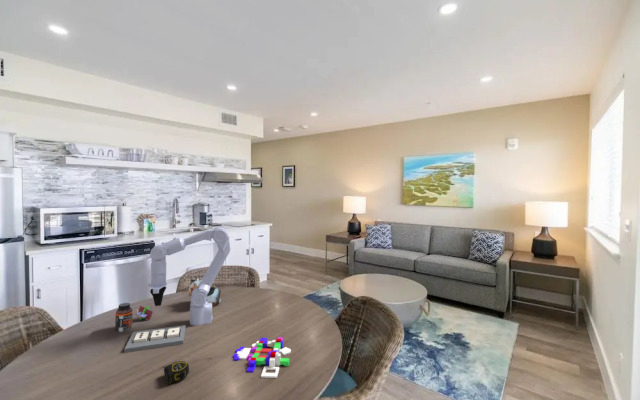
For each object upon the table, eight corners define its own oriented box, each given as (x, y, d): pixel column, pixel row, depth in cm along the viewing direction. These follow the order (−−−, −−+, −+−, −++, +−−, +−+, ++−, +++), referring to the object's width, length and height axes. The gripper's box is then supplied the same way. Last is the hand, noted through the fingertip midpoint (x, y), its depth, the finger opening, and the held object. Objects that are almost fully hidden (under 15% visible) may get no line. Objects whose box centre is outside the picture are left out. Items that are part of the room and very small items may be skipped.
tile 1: (164, 337, 118) (164, 328, 118) (162, 345, 113) (162, 335, 113) (153, 339, 117) (153, 330, 117) (150, 346, 111) (150, 337, 111)
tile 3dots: (148, 340, 116) (148, 330, 116) (145, 347, 111) (145, 337, 111) (136, 341, 115) (137, 332, 115) (133, 349, 109) (133, 339, 109)
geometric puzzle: (160, 313, 138) (150, 299, 138) (150, 318, 131) (140, 304, 132) (148, 321, 138) (139, 307, 139) (138, 327, 132) (128, 312, 132)
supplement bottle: (123, 335, 120) (124, 307, 120) (111, 333, 121) (111, 306, 121) (135, 328, 126) (136, 302, 126) (123, 327, 127) (124, 301, 127)
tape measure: (163, 375, 94) (163, 364, 94) (186, 369, 98) (186, 357, 98) (166, 387, 88) (166, 375, 88) (190, 379, 92) (190, 368, 92)
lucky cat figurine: (220, 307, 151) (206, 284, 146) (195, 318, 150) (180, 295, 144) (223, 288, 167) (211, 266, 161) (200, 298, 166) (187, 276, 160)
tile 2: (179, 336, 120) (179, 326, 120) (178, 342, 115) (178, 333, 115) (168, 337, 119) (168, 328, 119) (166, 344, 113) (166, 335, 113)
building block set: (243, 340, 119) (243, 329, 119) (294, 341, 119) (294, 330, 119) (221, 378, 94) (222, 364, 94) (286, 380, 94) (286, 366, 94)
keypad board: (185, 330, 125) (185, 325, 125) (183, 346, 112) (183, 340, 112) (133, 337, 118) (133, 331, 118) (124, 355, 105) (124, 348, 105)
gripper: (150, 270, 130) (150, 300, 131) (144, 278, 117) (144, 312, 117) (168, 268, 133) (168, 298, 133) (164, 277, 120) (164, 310, 120)
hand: (158, 305), depth 125 cm, fingers closed
